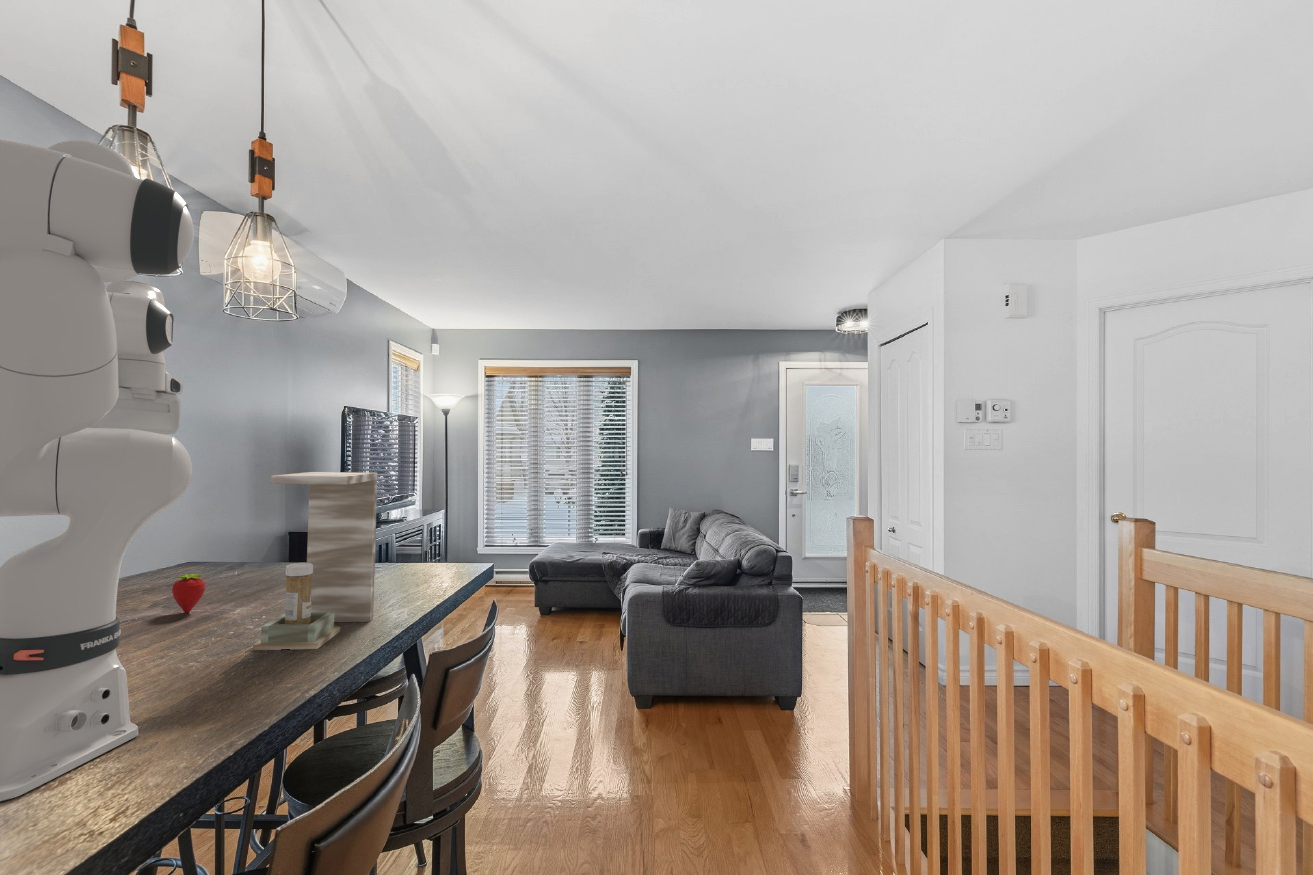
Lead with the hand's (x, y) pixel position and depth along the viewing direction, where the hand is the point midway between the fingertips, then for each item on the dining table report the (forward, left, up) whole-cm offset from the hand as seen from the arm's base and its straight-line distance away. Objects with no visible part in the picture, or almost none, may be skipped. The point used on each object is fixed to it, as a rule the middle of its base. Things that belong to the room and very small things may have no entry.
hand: (129, 460), depth 106 cm
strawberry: (+32, +8, -34) cm, 48 cm away
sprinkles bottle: (+10, -24, -33) cm, 42 cm away
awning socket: (+15, -26, -34) cm, 45 cm away
